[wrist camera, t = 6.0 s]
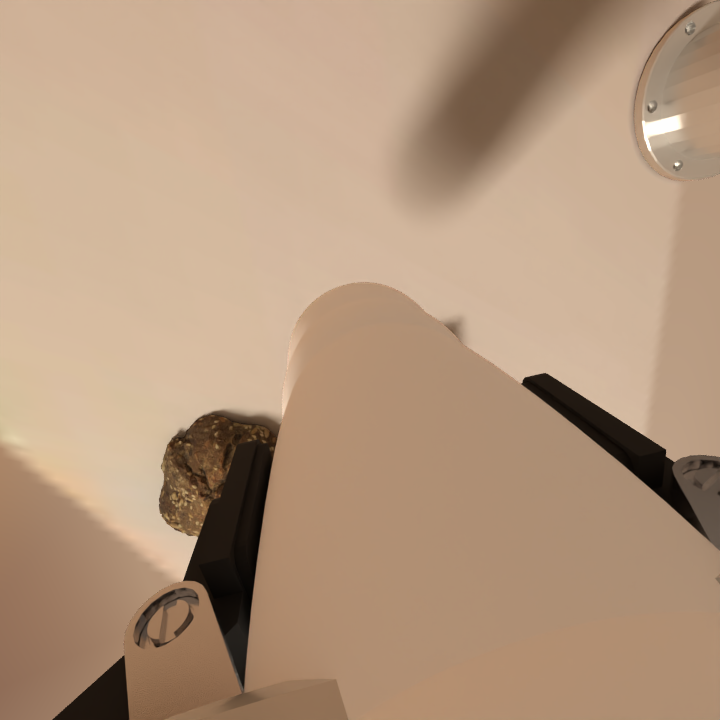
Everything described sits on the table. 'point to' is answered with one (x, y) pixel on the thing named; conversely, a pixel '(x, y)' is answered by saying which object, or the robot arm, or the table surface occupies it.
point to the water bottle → (465, 541)
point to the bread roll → (202, 468)
